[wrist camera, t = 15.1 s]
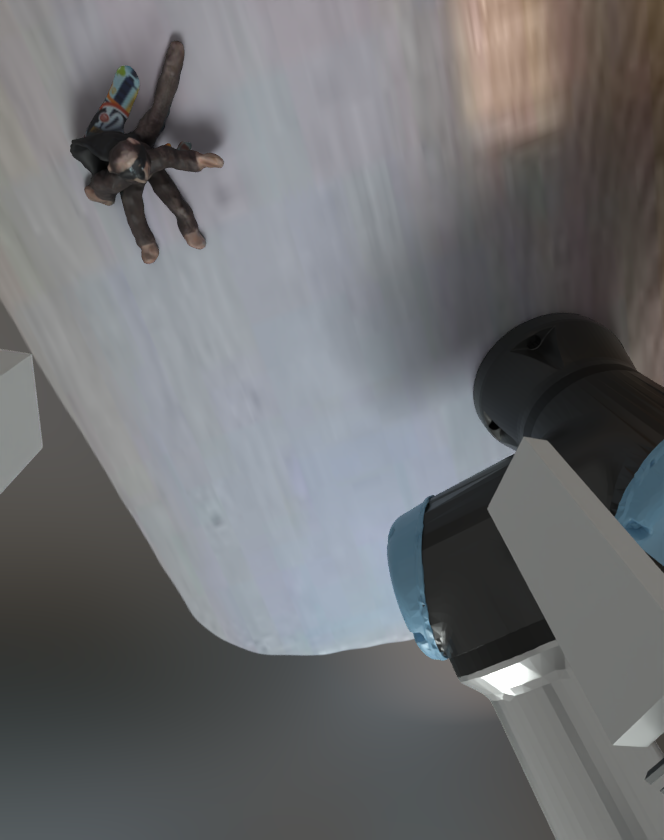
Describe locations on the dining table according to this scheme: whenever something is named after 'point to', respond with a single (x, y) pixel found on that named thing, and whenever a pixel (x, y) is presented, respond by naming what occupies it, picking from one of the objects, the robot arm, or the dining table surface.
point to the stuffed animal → (140, 155)
